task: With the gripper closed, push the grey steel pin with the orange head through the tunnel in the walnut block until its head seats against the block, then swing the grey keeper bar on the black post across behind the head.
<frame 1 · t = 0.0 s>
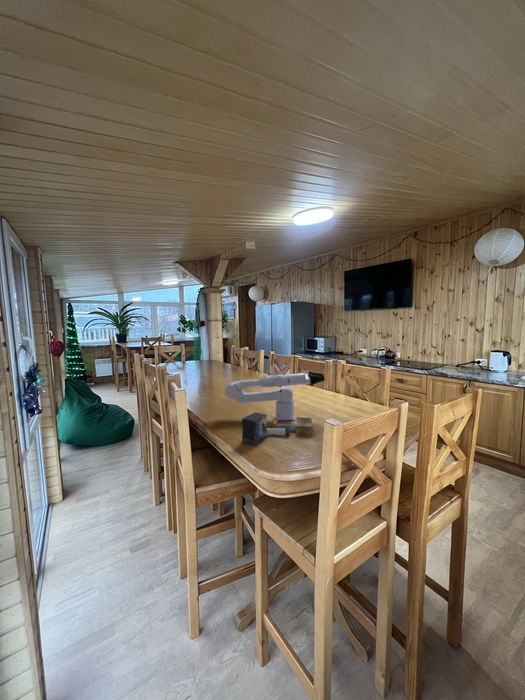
hand: (323, 377, 157), 22 cm above the table, tool horizontal, fingers open, 7 cm apart
keeper bar: (275, 431, 137), point 2 cm above the table, hinge at 0.0°
block: (304, 430, 142), on the table
keeper post: (287, 435, 137), on the table
small box: (254, 440, 133), on the table
pin: (275, 430, 144), on the table
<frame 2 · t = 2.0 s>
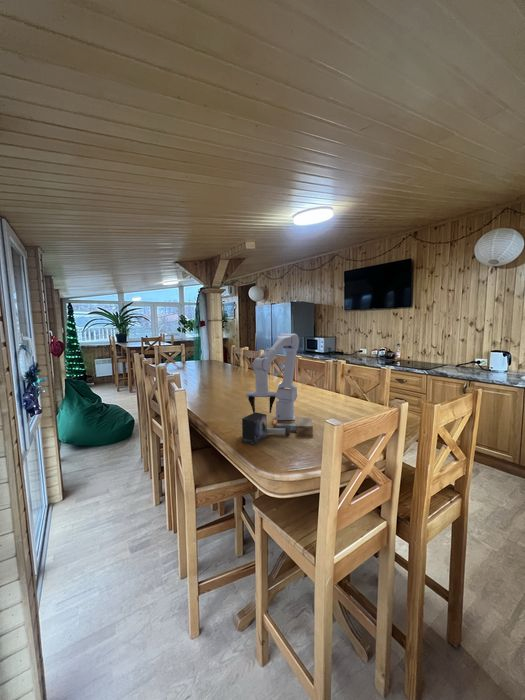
hand: (262, 412, 143), 8 cm above the table, tool pointing down, fingers open, 7 cm apart
nothing on the table moved.
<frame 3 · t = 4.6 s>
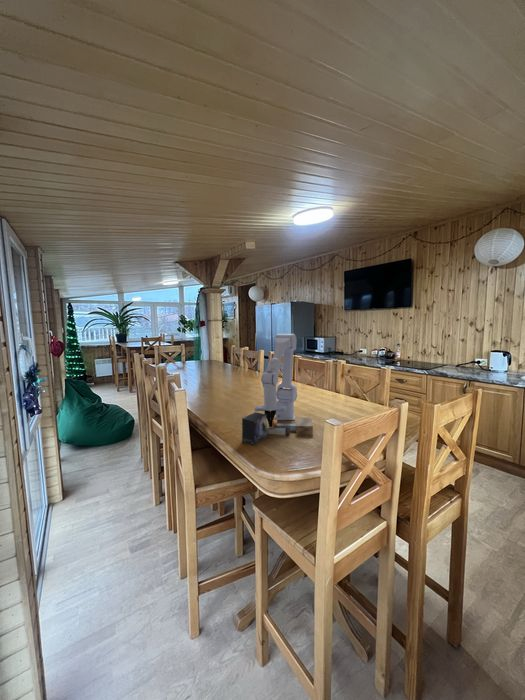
hand: (270, 426, 144), 2 cm above the table, tool pointing down, fingers closed
pin: (275, 430, 144), on the table, touching gripper
everything else where it was.
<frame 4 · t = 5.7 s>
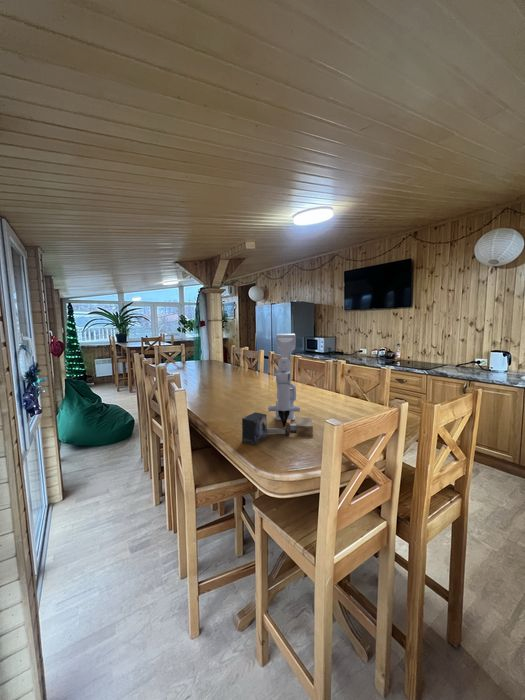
hand: (284, 426, 143), 2 cm above the table, tool pointing down, fingers closed
pin: (288, 430, 143), on the table, touching gripper
everything else where it was.
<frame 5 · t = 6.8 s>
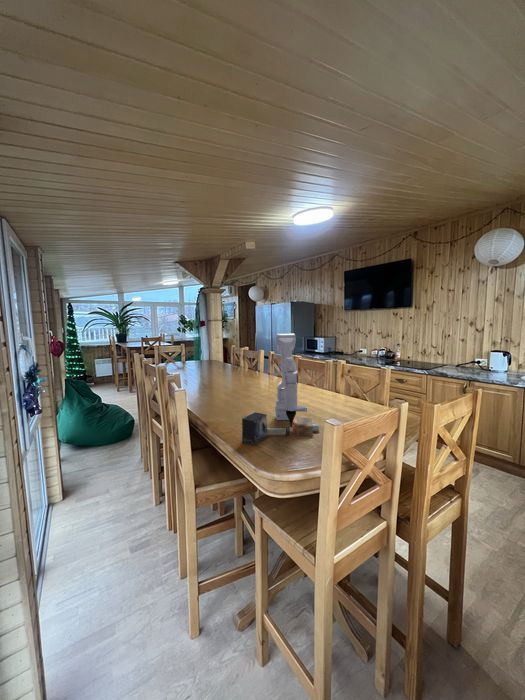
hand: (291, 426, 143), 2 cm above the table, tool pointing down, fingers closed
pin: (295, 430, 143), on the table, touching block, gripper
everything else where it was.
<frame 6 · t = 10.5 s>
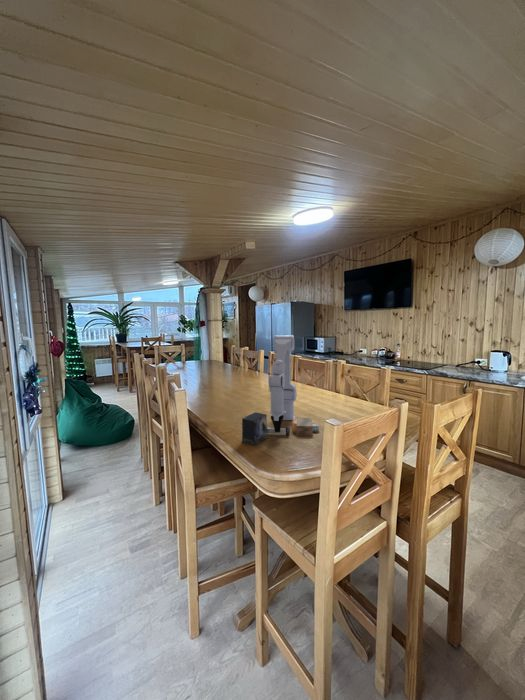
hand: (277, 431, 137), 2 cm above the table, tool pointing down, fingers closed, pressing on keeper bar
keeper bar: (275, 430, 138), point 2 cm above the table, hinge at 3.8°, touching gripper
pin: (295, 430, 143), on the table
everything else where it was.
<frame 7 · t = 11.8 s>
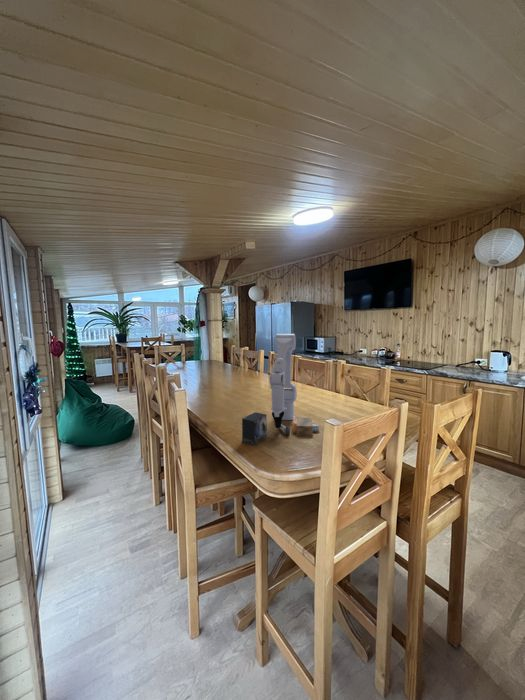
hand: (278, 427, 142), 2 cm above the table, tool pointing down, fingers closed, pressing on keeper bar
keeper bar: (282, 427, 142), point 2 cm above the table, hinge at 61.4°, touching gripper
everything else where it was.
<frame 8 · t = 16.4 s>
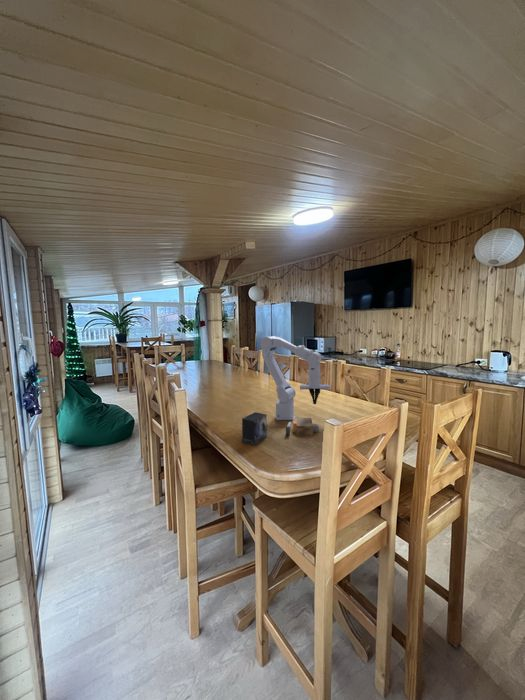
hand: (314, 403, 153), 9 cm above the table, tool pointing down, fingers closed
keeper bar: (289, 427, 142), point 2 cm above the table, hinge at 95.0°
everything else where it was.
at the end: pin 0.2 cm from the target spot, on the table; keeper bar at +95° (first picture: +0°); pin tilted 0° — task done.
